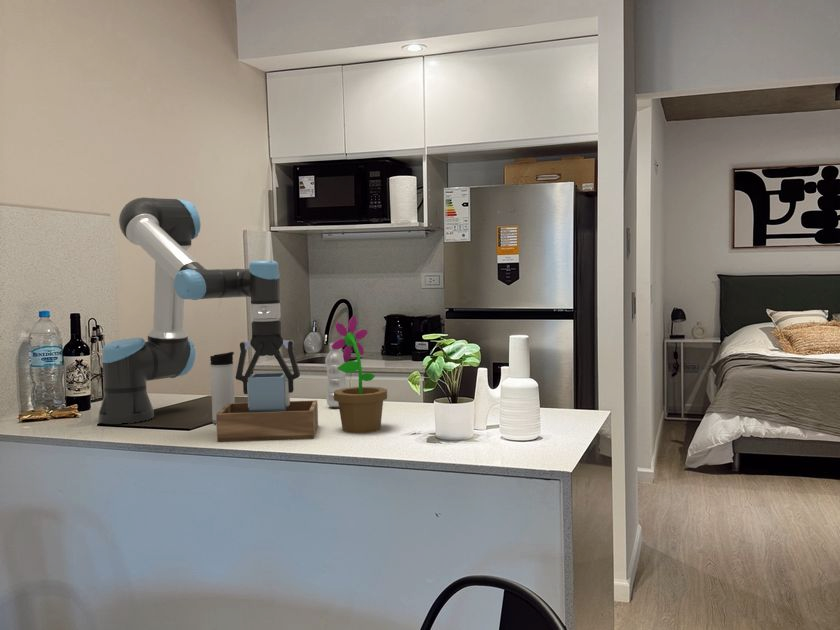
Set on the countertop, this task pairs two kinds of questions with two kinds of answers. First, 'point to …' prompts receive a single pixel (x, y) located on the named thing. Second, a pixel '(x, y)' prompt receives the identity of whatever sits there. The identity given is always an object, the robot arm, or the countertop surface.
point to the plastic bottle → (334, 374)
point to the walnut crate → (267, 422)
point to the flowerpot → (357, 402)
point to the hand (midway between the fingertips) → (269, 405)
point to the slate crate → (267, 392)
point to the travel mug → (221, 382)
